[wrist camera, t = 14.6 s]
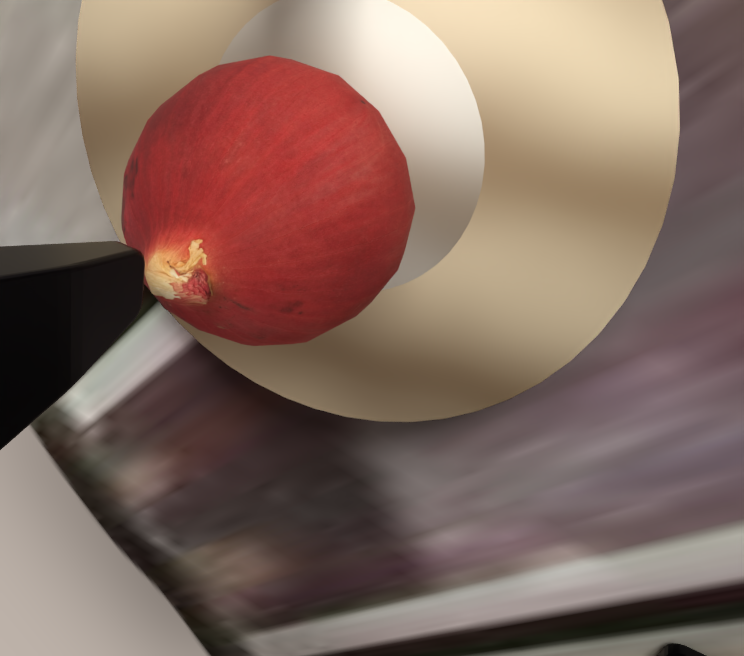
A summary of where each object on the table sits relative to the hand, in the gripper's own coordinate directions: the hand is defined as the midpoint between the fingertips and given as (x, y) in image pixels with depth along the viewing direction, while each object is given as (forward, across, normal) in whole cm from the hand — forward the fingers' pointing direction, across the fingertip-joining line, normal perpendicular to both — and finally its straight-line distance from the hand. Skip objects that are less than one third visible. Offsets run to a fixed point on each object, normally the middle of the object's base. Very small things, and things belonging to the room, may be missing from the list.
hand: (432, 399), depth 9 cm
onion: (+9, +5, 0) cm, 10 cm away
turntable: (+12, +5, 0) cm, 13 cm away
